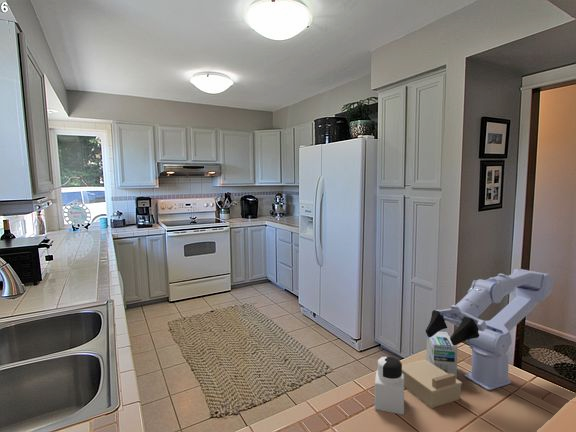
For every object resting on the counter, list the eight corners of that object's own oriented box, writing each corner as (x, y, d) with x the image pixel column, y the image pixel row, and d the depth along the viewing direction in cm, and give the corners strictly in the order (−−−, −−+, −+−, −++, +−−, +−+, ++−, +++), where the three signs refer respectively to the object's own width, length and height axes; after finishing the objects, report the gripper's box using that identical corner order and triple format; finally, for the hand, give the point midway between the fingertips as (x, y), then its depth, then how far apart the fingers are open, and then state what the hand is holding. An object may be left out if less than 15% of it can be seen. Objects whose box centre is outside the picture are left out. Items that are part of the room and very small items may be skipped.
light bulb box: (457, 382, 95) (458, 346, 94) (433, 379, 96) (433, 344, 96) (447, 363, 105) (447, 331, 105) (425, 361, 107) (425, 329, 106)
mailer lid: (424, 360, 99) (424, 352, 99) (461, 384, 87) (462, 374, 86) (397, 367, 95) (397, 359, 95) (432, 393, 83) (432, 383, 83)
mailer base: (424, 374, 99) (424, 361, 99) (460, 398, 87) (460, 384, 87) (397, 381, 96) (398, 368, 95) (431, 408, 83) (432, 393, 83)
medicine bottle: (403, 398, 88) (403, 355, 87) (403, 415, 81) (404, 369, 80) (376, 393, 90) (376, 351, 89) (374, 409, 83) (374, 364, 82)
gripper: (441, 292, 96) (412, 318, 90) (489, 300, 83) (458, 332, 77) (450, 312, 97) (421, 340, 91) (499, 323, 84) (469, 356, 78)
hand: (439, 338), depth 84 cm, fingers open, 7 cm apart
